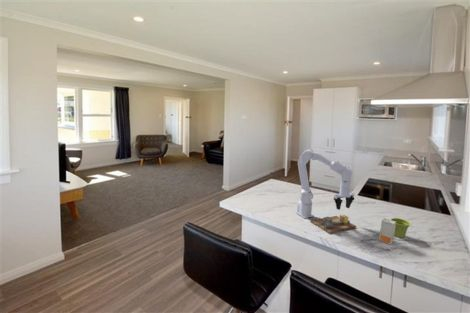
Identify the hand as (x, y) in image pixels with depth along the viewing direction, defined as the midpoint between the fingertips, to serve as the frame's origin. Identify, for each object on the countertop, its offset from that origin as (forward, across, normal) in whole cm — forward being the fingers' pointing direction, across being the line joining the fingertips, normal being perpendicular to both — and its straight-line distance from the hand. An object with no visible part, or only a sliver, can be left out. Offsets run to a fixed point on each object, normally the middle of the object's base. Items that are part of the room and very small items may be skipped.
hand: (342, 208), depth 160 cm
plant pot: (+10, +18, -24) cm, 32 cm away
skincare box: (+10, +6, -26) cm, 29 cm away
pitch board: (+10, -7, -1) cm, 12 cm away
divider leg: (+8, -2, -3) cm, 9 cm away
